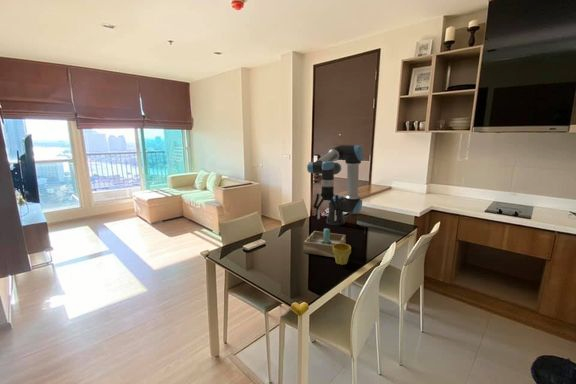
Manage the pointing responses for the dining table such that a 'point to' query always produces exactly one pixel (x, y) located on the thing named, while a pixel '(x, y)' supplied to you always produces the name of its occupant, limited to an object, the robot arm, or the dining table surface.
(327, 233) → the peg
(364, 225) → the dining table surface
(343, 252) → the plant pot
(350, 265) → the dining table surface
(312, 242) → the box
